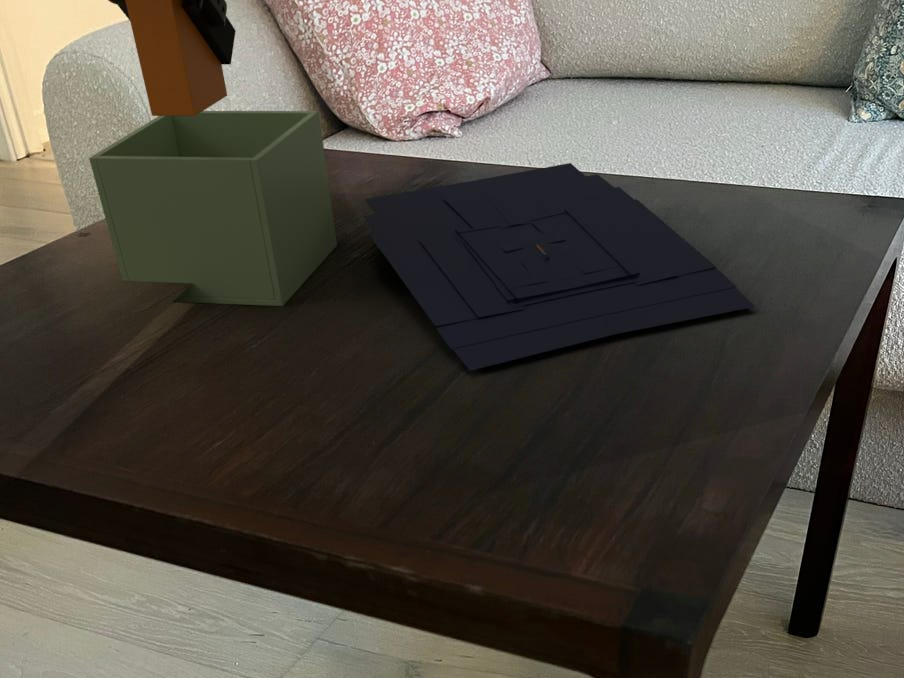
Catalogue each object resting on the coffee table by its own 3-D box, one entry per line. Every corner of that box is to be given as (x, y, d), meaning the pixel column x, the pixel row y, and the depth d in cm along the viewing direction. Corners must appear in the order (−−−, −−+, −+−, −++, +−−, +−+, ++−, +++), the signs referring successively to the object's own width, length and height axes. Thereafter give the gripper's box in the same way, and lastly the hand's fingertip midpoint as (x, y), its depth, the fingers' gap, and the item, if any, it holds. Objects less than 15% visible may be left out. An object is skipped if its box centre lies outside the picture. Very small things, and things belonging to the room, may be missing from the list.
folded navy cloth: (586, 188, 102) (589, 150, 100) (752, 337, 83) (761, 294, 80) (347, 232, 96) (343, 192, 94) (466, 404, 77) (466, 360, 74)
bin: (127, 300, 90) (88, 157, 82) (196, 241, 100) (167, 110, 93) (282, 306, 87) (257, 159, 80) (337, 245, 98) (318, 110, 90)
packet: (150, 116, 78) (113, -44, 71) (186, 95, 82) (154, -57, 76) (195, 116, 77) (162, -46, 70) (228, 95, 81) (200, -58, 75)
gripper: (-132, -157, 59) (97, 94, 82) (137, -172, 55) (298, 94, 78) (-110, -281, 59) (112, 3, 82) (158, -303, 56) (311, -1, 79)
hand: (202, 47), depth 80 cm, fingers closed on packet, 4 cm apart
